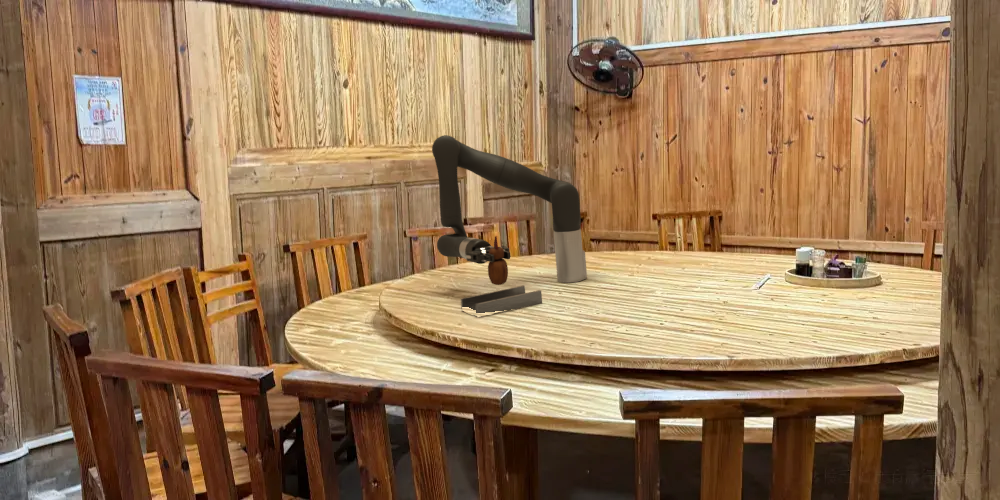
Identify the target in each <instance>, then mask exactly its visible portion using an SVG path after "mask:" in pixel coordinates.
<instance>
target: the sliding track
mask: <svg viewBox="0 0 1000 500" xmlns="http://www.w3.org/2000/svg"><path fill="white" fill-rule="evenodd" d="M540 304H541V305H542V304H543V294H542V290H540V289H538V290H536V291H530V292H526V286H525V285H519V286H513V287H509V288H508V287H507V288H505V289H500V290H495V291H491V292H486V293H481V294H476V295H471V296H467V297H466V296H465V297H462V298H460V306H461V308H462V307H469V308H471V309H473V310H476V313H485V312H495V311H504V310H511V309H515V310H519V309H523V308H527V307H532V306H536V305H540ZM511 311H512V310H511Z"/></svg>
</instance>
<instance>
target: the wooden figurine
mask: <svg viewBox="0 0 1000 500" xmlns="http://www.w3.org/2000/svg"><path fill="white" fill-rule="evenodd" d="M489 254H492V255H494V262H489V261H488V265H487V273H488V274H487V275H488V278H489V280H490V283H491V284H492V285H496V286H497V285H498V286H499V285H503V284H506V283H507V280H508V276H509V269H508V268H509V266H508V263H507V261H506V259H504V258H503V257H504V250H503V248H502V247H501V246H499V245H498V238H497V236H494V240H493V247H492V248H490V250H489Z"/></svg>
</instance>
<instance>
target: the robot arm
mask: <svg viewBox="0 0 1000 500" xmlns="http://www.w3.org/2000/svg"><path fill="white" fill-rule="evenodd" d="M431 151H432V156H433V157H434V161H435V165H436V169H437V170H436V171H437V175H438V176H437V177H438V185H439V189H438V190H439V191H438V192H439V193H438V194H439V195H438V196H439V197H438V198H439V215H440V225H441V226H442V227H444V228H451V229H453V231H454V233H449V234H442V235H441V236H440V237H439V238H438V239H437V241H436V247H437V251H438V252H439V253H440V254H441V255H442V256H443V257H446V258H447V257H450V258H451V257H452V258H461V259H464V260H466V261H467V262H468V261H469V262H471V263H474V264H478V265H483V264H486V263H489V262H494V255H492V254H489V250H490V248H492V247H494V245H491V243H489V242H488V241H487V240H484V239H480V238H477V237H469V236H468V235H467V232H466V229H465V226H464V222H463V215H462V204H461V196H460V189H459V177H458V168H461V169H463V170H467V171H469V172H471V173H474V174H475V175H477V176H479V177H481V178H483V179H484V180H486V181H488V182H491V183H493V184H496V185H498V186H500V187H503V188H506V189H509V190H512V191H516V192H521V193H525V194H530V195H533V196H535V197H538V198H540V199H542V200H544V201H547V202H548V203H550V204H551V211H552V230H553V243H554V253H555V254H554V255H555V263H556V265H555V266H556V277H557V278H556V279H557V282H559V283H577V282H580V281H583V280H585V279H588V272H587V257H586V251H585V250H584V249H583V241H582V228H581V225H582V224H581V221H582V220H581V219H582V217H581V216H582V215H581V204H580V203H581V202H580V194H579V191H578V189H577V188H576V186H574V184H572V183H571V182H569V181H565V180H560V179H556V178H554V177H551V176H550V177H549V176H546V175H543V174H541V173H538V172H537V171H535V170H534V169H531V168H529V167H528V166H526V165H524V164H521V163H519V162H516V161H514V160H512V159H509V158H506V157H504V156H501V155H498V154H494V153H490V152H487V151H486V152H485V151H481V150H478V149H475V148H473V147H470V146H468V145H467V144H464V143H462V142H461V141H459V140H457V139H456V138H455V137H453V136H451V135H446V134H445V135H440V136H439V137H437V138H436V139H435V140H434V141H433V144H432V147H431ZM500 247H502V248H503V250H504V257H503V258H502V259H504V260H510V259H511V252H510V247H508V246H505V245H501V246H500Z"/></svg>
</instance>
